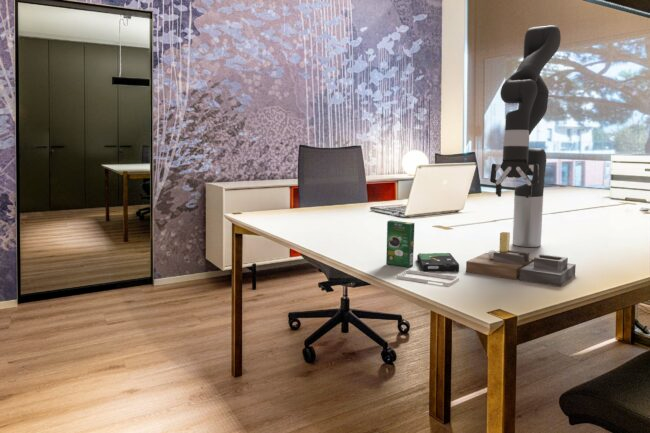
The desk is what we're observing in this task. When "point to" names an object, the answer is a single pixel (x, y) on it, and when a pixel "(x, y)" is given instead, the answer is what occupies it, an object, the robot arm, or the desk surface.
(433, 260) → the disk drive
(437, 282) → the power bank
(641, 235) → the desk surface
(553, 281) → the door and jamb
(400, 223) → the coffee box
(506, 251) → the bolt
